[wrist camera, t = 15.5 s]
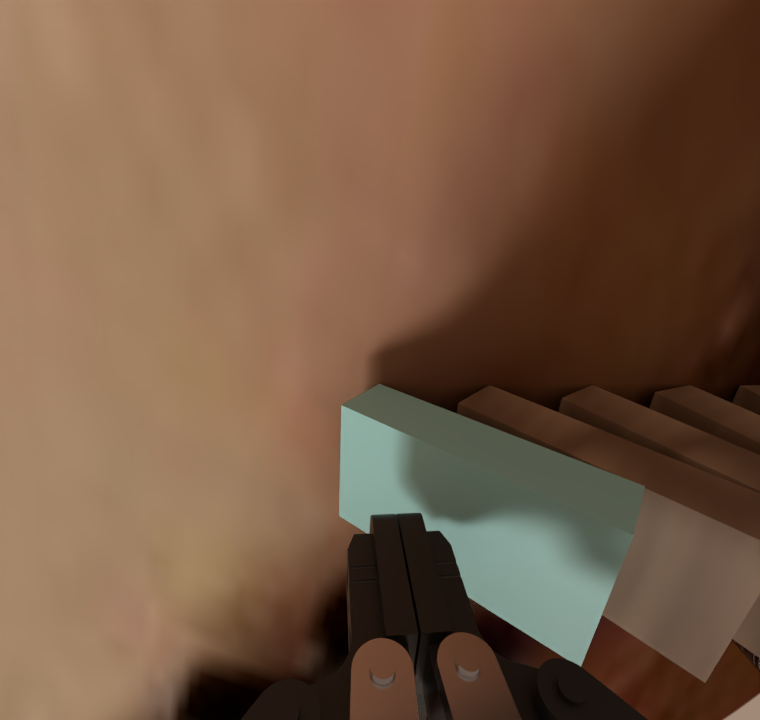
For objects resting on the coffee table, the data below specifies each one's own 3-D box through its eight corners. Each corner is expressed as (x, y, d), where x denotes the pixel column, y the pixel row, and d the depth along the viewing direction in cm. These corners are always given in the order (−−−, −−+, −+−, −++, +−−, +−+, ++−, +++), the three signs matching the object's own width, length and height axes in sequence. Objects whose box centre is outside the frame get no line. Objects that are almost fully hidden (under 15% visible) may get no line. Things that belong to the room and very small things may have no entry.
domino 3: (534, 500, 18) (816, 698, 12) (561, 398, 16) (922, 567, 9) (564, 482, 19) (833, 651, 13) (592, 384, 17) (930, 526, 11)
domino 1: (339, 516, 17) (580, 667, 12) (341, 404, 15) (633, 535, 10) (372, 486, 18) (596, 609, 14) (379, 383, 16) (645, 486, 11)
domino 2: (442, 509, 17) (704, 682, 12) (458, 402, 15) (785, 551, 10) (471, 484, 19) (717, 628, 13) (489, 384, 17) (789, 504, 11)
